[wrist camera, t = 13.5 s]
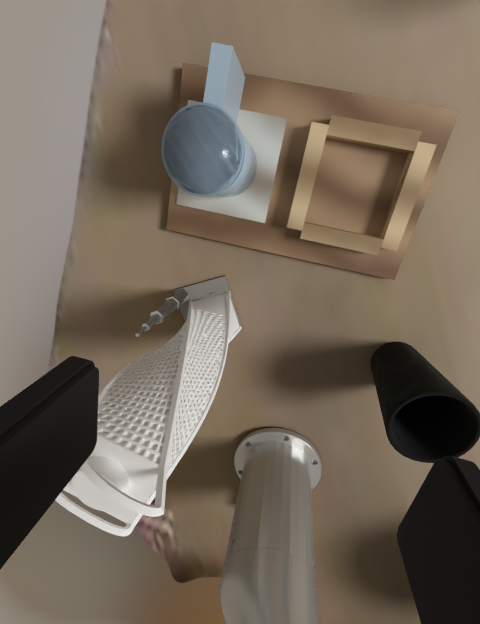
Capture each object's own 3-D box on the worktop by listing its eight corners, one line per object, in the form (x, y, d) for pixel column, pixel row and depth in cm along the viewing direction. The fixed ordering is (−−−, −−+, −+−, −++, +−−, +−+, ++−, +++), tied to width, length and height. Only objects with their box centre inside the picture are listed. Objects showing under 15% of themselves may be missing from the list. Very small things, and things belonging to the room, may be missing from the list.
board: (391, 277, 36) (395, 280, 34) (170, 228, 38) (165, 229, 37) (453, 114, 30) (460, 110, 29) (186, 67, 32) (181, 61, 31)
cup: (352, 346, 39) (374, 406, 28) (418, 324, 37) (469, 380, 26) (373, 396, 41) (402, 471, 30) (437, 378, 39) (492, 452, 28)
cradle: (389, 255, 34) (394, 258, 32) (285, 233, 35) (284, 235, 33) (432, 138, 30) (440, 134, 28) (313, 116, 31) (314, 111, 29)
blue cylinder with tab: (250, 204, 34) (234, 204, 25) (194, 191, 35) (156, 186, 25) (274, 93, 31) (264, 45, 21) (210, 81, 31) (174, 28, 22)
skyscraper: (236, 272, 39) (112, 433, 13) (255, 332, 41) (183, 573, 15) (174, 289, 41) (-41, 458, 15) (195, 346, 43) (42, 577, 17)
